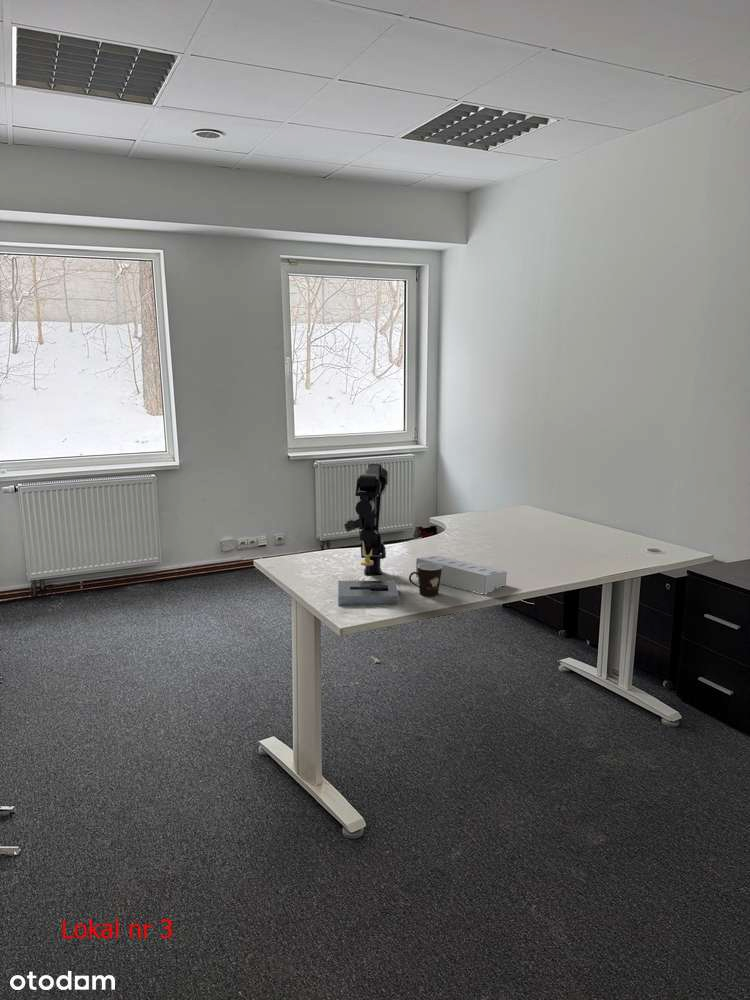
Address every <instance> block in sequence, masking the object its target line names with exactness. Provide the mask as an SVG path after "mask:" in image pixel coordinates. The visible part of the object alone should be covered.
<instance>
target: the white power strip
mask: <svg viewBox="0 0 750 1000" xmlns="http://www.w3.org/2000/svg"><path fill="white" fill-rule="evenodd" d="M415 561H416V565H415V567H416V569H415V572H418V569H417V565H418V564H421V563H436V564H439V565H441V566H442V572H441V578H440V584H442V585H444V586H445V585H446V586H449V587H452V588H455V587H456V588H455V589H459V588H460V590H463V589H465V590H464V591H466V590H470V591H475V592H478V593H483V594H485V593H488V592H490V591H492V590H495V589H497V588H499V587H501V586H503V585H507V574H508V573H507V571H505V570H501V569H497V568H493V567H489V566H485V565H484V566H483V565H480V564H475V563H472V562H467V561H464V560H459V559H455V558H451V557H446V556H443V555H433V556H425V557H424V556H423V557H419V558H418V557H417V558H416V560H415ZM415 577H416V578H418V575H417V574H415ZM501 588H502V587H501ZM499 589H500V588H499ZM497 590H498V589H497ZM470 591H469V592H470ZM495 591H496V590H495ZM488 594H489V593H488Z"/></svg>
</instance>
